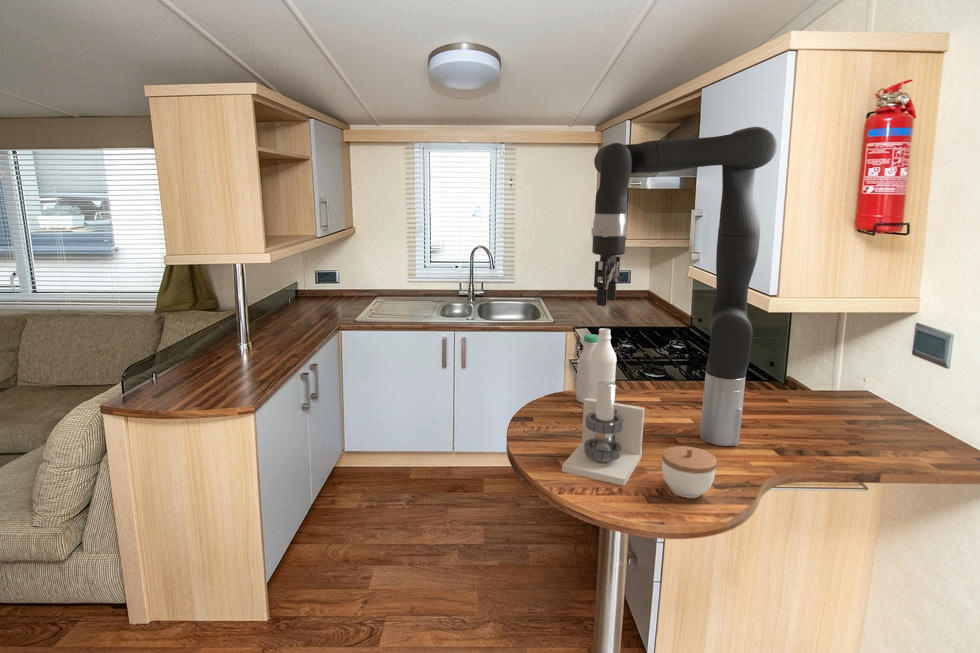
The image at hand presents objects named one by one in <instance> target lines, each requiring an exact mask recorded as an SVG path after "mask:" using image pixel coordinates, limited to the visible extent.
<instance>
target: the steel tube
mask: <svg viewBox="0 0 980 653" xmlns="http://www.w3.org/2000/svg"><path fill="white" fill-rule="evenodd" d="M616 386H617V385H616V383H613V382H610V381H600V382H598V383H597V399H596V417H595V421H596V422H600V423H614V407H615V403H616V389H617V388H616ZM612 439H613V434H604V433H597V432H595V435H594V449H595V450H600V451H611V450H612ZM594 461H595V462H598V463H603V464H605V463H609V462H611V461H598V460H594Z"/></svg>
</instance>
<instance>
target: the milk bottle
mask: <svg viewBox="0 0 980 653" xmlns="http://www.w3.org/2000/svg"><path fill="white" fill-rule="evenodd" d="M598 336H599V334H594V333H593V334H592V333H591V334H589V333H588V334H584V336H583V343H584V345H583V348H582V351H581V353H580V355H579V357H578V361H577V369H576V371H577V373H576V390H575V391H576V392H575V398H576V401H577V402H579V403H582V404H584V399H585V398H589V394H590V381H589V375H590V356H591V353H592V351H593V350H594V348H595V346H596V345H597V343H598V339H599V338H598Z"/></svg>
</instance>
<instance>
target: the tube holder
mask: <svg viewBox="0 0 980 653" xmlns="http://www.w3.org/2000/svg"><path fill="white" fill-rule="evenodd" d="M582 408H583V411H582V429H581V430H582V431H581V432H582V433H581V434H582V435H581V443H579V446H577V448H576V449H575V450H574V451H573V452H572V453H571V455H570V456H569V457H568V458H567V459H566V460H565V462H564V463H563V464H562V465H561V472H564V473H566V474H571V475H575V476H580V477H584V478H587V479H588V478H589V479H593V480H597V481H601V482H606V483H609V484H613V485H619V486H623V487H625V486H626V484H627V483H628V480H629V479H630V477H631V475H632V473H633V472H634V471H635V468H636V467H637V465H638V464H639V462H640V460H641V459H642V455H643V451H642V450H643V449H642V446H643V433H644V432H643V430H644V421H645V407H643V406H642V407H641V406H635V405H630V404H623V403H619V402H615V407H614V409H617V415H619V416H621V417H622V419H623V429H622V430H621V431H620V432H617V433H614V434H613V435H615V441H616V442H618V443H619V444H620V445H621V456H620V458H619V459H617V460H614V461H611V462H609V463H605V464H603V463H598V462H595V461H594V460H593V459H591V458H589V457H587V456H586V455H585V453H584V443H585V442H586V441H587V440H589V439H593V438H594V435H595V432H593V431H591V430H589V429H587V427H586V425H585V420H586V416H587V415H588V414H589V413H592V412H596V399H590V398H585V399H584V403H583V406H582Z"/></svg>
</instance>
